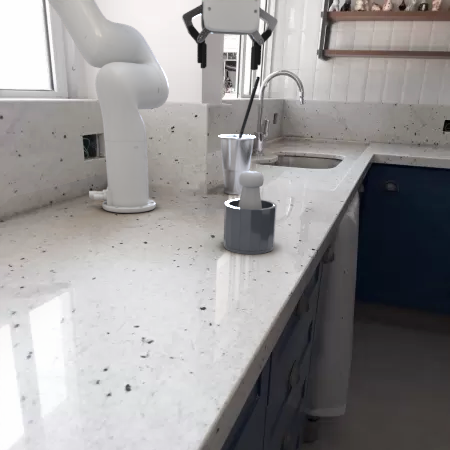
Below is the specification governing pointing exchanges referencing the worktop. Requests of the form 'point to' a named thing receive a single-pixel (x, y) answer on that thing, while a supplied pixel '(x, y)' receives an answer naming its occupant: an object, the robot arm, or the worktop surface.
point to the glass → (237, 153)
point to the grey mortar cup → (249, 228)
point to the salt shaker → (250, 190)
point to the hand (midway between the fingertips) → (229, 68)
